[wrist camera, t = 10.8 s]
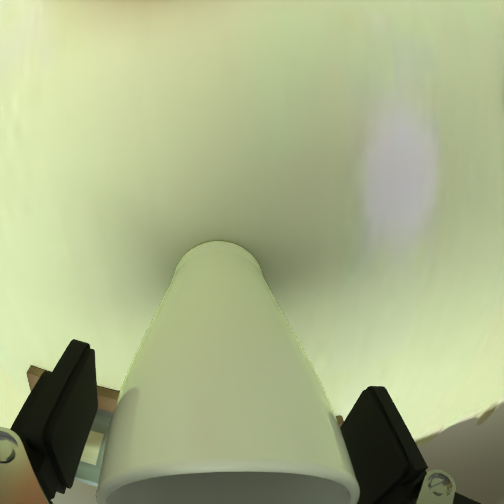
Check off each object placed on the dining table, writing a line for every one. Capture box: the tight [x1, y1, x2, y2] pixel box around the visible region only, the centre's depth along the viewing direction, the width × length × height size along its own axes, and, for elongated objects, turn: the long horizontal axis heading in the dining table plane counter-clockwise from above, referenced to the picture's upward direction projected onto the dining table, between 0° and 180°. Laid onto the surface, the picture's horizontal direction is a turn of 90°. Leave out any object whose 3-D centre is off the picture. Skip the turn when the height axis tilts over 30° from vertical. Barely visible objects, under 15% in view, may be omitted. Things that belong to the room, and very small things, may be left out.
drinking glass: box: [96, 241, 360, 504], centre depth 13 cm, size 7×7×15 cm
